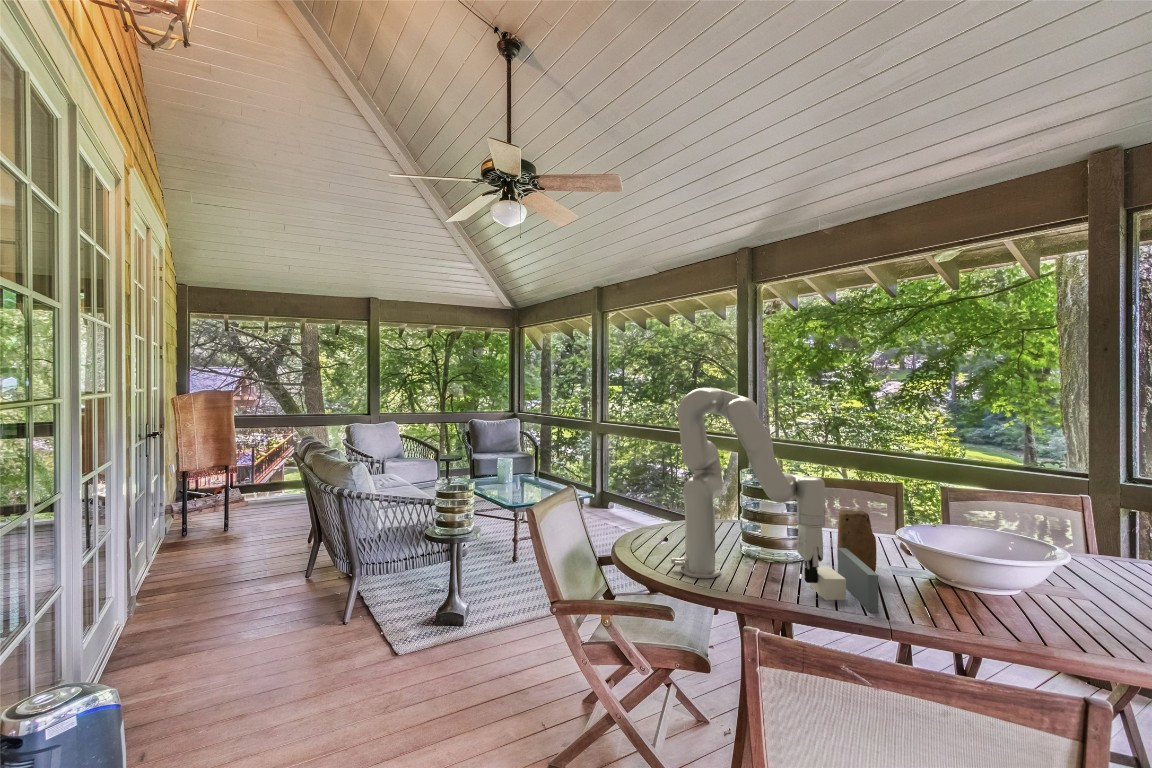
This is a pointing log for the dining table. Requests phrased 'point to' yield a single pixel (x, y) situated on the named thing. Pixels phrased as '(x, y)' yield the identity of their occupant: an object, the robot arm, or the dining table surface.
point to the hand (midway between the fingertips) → (811, 581)
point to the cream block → (830, 584)
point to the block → (857, 536)
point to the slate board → (859, 579)
